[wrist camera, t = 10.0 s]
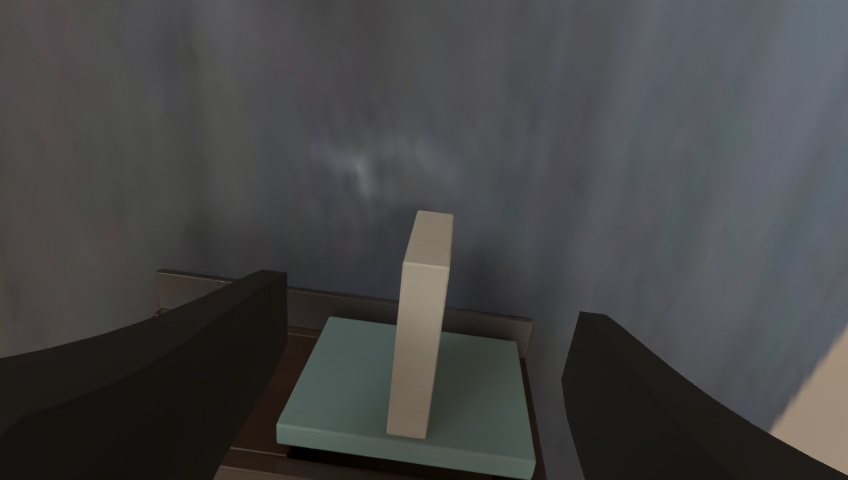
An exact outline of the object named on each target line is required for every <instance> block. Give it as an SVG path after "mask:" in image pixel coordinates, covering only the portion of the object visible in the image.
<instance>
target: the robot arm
mask: <svg viewBox="0 0 848 480" xmlns="http://www.w3.org/2000/svg"><path fill="white" fill-rule="evenodd" d="M287 343H288V307H287V273H285V272H278V271H270V270H260V271H257V272H255V273H252V274H250V275H248V276H245V277H243V278H241V279H239V280H237V281H235V282H232V283H230V284H228V285H226V286H224V287H222V288H220V289H218V290H215V291H213V292H211V293H209V294H207V295H205V296H202V297H200V298H198V299H196V300H193V301H191V302H189V303H186V304H184V305H182V306H179V307H177V308H174V309H172V310H170V311H167V312H165V313H162V314H160V315H158V316H155V317H152V318H150V319H147V320H144V321H141V322H139V323H136V324H133V325H130V326H127V327H124V328H121V329H118V330H114V331H111V332H108V333H105V334H102V335H98V336H94V337H91V338H87V339H83V340H79V341H75V342H71V343H67V344H64V345H60V346H56V347H52V348H48V349H44V350H39V351H34V352H30V353H25V354H20V355H15V356H10V357H5V358H0V480H213V479H214V477H215V475H216V473H217V471H218V469H219V467H220V465H221V463H222V462H223V460H224V458H225V456H226V454H227V452H228V451H229V449H230V447H231V446H232V444H233V443H234V441H235V439H236V438H237V436H238V434H239V433H240V431H241V429H242V428H243V426H244V424H245V423H246V421H247V419H248V418H249V416H250V415H251V413H252V411H253V410H254V408H255V406H256V405H257V403H258V401H259V400H260V398H261V396H262V395H263V393H264V391H265V390H266V388H267V386H268V385H269V383H270V381H271V379H272V378H273V376H274V374H275V371H276V369H277V367H278V365H279V362H280V360H281V358H282V355H283V353H284V350H285V348H286V345H287ZM562 387H563V395H564V402H565V408H566V415H567V419H568V423H569V427H570V430H571V434H572V437H573V440H574V444H575V447H576V451H577V454H578V458H579V461H580V464H581V468H582V471H583V475H584V478H585V480H848V475H846V474H844V473H842V472H840V471H837V470H836V469H834V468H831V467H830V466H828V465H826V464H824V463H822V462H820V461H818V460H816V459H814V458H812V457H810V456H808V455H806V454H805V453H803V452H801V451H799V450H797V449H796V448H794V447H792V446H790V445H788V444H786V443H785V442H783V441H781V440H779V439H777V438H776V437H774V436H772V435H770V434H769V433H767V432H765V431H764V430H762V429H760V428H758V427H757V426H755V425H753V424H752V423H750V422H749V421H747V420H746V419H744V418H742V417H741V416H739V415H738V414H736V413H735V412H733V411H731V410H730V409H728V408H727V407H725V406H724V405H722V404H721V403H719V402H718V401H716V400H715V399H713V398H712V397H710V396H709V395H708V394H706V393H705V392H703V391H702V390H701V389H699V388H698V387H697V386H695V385H694V384H693V383H691V382H690V381H688V380H687V379H686V378H684V377H683V376H682V375H680V374H679V373H678V372H677V371H675V370H674V369H673V368H671V367H670V366H669V365H668V364H666V363H665V362H664V361H663V360H661V359H660V358H659V357H658V356H657V355H655V354H654V353H653V352H652V351H650V350H649V349H648V348H647V347H646V346H644V345H643V344H642V343H641V342H640V341H638V340H637V339H636V338H635V337H634V336H632V335H631V334H630V333H629V332H628V331H626V330H625V329H624V328H623V327H621V326H620V325H619V324H618V323H616V322H615V321H614V320H612V319H611V318H610V317H608V316H607V315H604V314H596V313H589V312H581V311H580V313H579V317H578V320H577V324H576V328H575V331H574V335H573V339H572V343H571V346H570V350H569V354H568V357H567V361H566V365H565V368H564V372H563V376H562Z"/></svg>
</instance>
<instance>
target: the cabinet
mask: <svg viewBox="0 0 848 480" xmlns="http://www.w3.org/2000/svg"><path fill="white" fill-rule="evenodd" d="M156 279H157V286H158V294H159V301H160V308H161V309H160V310H158V311H157V312H156V313H155V314H154V316H152V317H155V316H158V315H160V314H162V313H165V312H167V311H170V310H172V309H174V308H177V307H179V306H182V305H184V304H186V303H189V302H191V301H193V300H196V299H198V298H200V297H202V296H205V295H207V294H209V293H211V292H213V291H215V290H218V289H220V288H222V287H224V286H226V285H228V284H230V283H232V282H235V281H237V280H236V279H228V278H221V277H214V276H206V275H199V274H191V273H184V272H176V271H169V270H162V269H159V270H158V271H156ZM287 307H288V343H287V345H286V348H285V350H284V353H283V355H282V358H281V360H280V362H279V365H278V367H277V369H276V371H275V374H274V376H273V378H272V379H271V381H270V383H269V385H268V386H267V388H266V390H265V391H264V393H263V395H262V396H261V398H260V400H259V401H258V403H257V405H256V406H255V408H254V410H253V411H252V413H251V415H250V416H249V418H248V419H247V421H246V423H245V424H244V426H243V428H242V429H241V431H240V433H239V434H238V436H237V438H236V439H235V441H234V443H233V444H232V446H231V447H230V449H229V451H228V452H227V454H226V456H225V458H224V460H223V462H222V463H221V465H220V467H219V469H218V471H217V473H216V475H215V477H214V479H213V480H525V479H518V478H511V477H504V476H497V475H490V474H484V473H477V472H470V471H463V470H456V469H449V468H442V467H436V466H429V465H422V464H415V463H408V462H401V461H395V460H388V459H381V458H374V457H367V456H360V455H354V454H347V453H340V452H333V451H326V450H319V449H313V448H306V447H299V446H292V445H285V444H279V443H277V426H276V425H277V423H278V421H279V418H280V416H281V414H282V412H283V410H284V408H285V406H286V404H287V402H288V400H289V398H290V396H291V394H292V392H293V390H294V388H295V386H296V384H297V382H298V380H299V378H300V376H301V374H302V372H303V370H304V368H305V366H306V364H307V362H308V360H309V358H310V356H311V353H312V351H313V349H314V347H315V345H316V343H317V341H318V339H319V337H320V335H321V333H322V331H323V329H324V327H325V325H326V323H327V321H328V319H329V317H338V318H346V319H353V320H360V321H368V322H375V323H382V324H390V325H397V318H398V308H399V301H392V300H384V299H377V298H369V297H362V296H355V295H347V294H340V293H332V292H325V291H317V290H310V289H303V288H295V287H288V286H287ZM152 317H151V318H152ZM532 327H533V320H532V319H525V318H518V317H511V316H503V315H496V314H488V313H481V312H473V311H466V310H459V309H451V308H444V315H443V322H442V329H441V332H448V333H456V334H463V335H470V336H478V337H485V338H492V339H500V340H507V341H514V342H516V343H517V349H518V355H519V361H520V367H521V373H522V380H523V386H524V392H525V398H526V404H527V410H528V416H529V422H530V428H531V435H532V441H533V447H534V453H535V459H536V464H535V468H534V472H533V475H532V478H531V480H547V478H546V472H545V467H544V461H543V456H542V450H541V445H540V439H539V434H538V428H537V423H536V417H535V412H534V406H533V401H532V395H531V390H530V384H529V379H528V373H527V368H526V362H525V357H526V353H527V348H528V344H529V340H530V336H531V331H532Z"/></svg>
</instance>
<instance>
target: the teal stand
mask: <svg viewBox="0 0 848 480" xmlns="http://www.w3.org/2000/svg"><path fill="white" fill-rule="evenodd" d="M453 221H454V216H453V215H452V214H445V213H437V212H429V211H421V210H419V211H418V212H417V215H416V219H415V222H414V226H413V229H412V233H411V236H410V240H409V243H408V247H407V250H406V254H405V257H404V261H403V267H402V277H401V288H400V298H399V308H398V318H397V325H390V324H382V323H375V322H368V321H360V320H353V319H346V318H338V317H329V319H328V321H327V323H326V325H325V327H324V329H323V331H322V333H321V335H320V337H319V339H318V341H317V343H316V345H315V347H314V349H313V351H312V353H311V356H310V358H309V360H308V362H307V364H306V366H305V368H304V370H303V372H302V374H301V376H300V378H299V380H298V382H297V384H296V386H295V388H294V390H293V392H292V394H291V396H290V398H289V400H288V402H287V404H286V406H285V408H284V410H283V412H282V414H281V416H280V418H279V421H278V423H277V425H276V426H277V443H279V444H285V445H292V446H299V447H306V448H313V449H319V450H326V451H333V452H340V453H347V454H354V455H360V456H367V457H374V458H381V459H388V460H395V461H401V462H408V463H415V464H422V465H429V466H436V467H442V468H449V469H456V470H463V471H470V472H477V473H484V474H490V475H497V476H504V477H511V478H518V479H525V480H531V478H532V475H533V472H534V468H535V464H536V459H535V453H534V447H533V441H532V435H531V428H530V422H529V416H528V410H527V404H526V398H525V392H524V386H523V380H522V373H521V367H520V361H519V355H518V349H517V343H516V342H514V341H507V340H500V339H492V338H485V337H478V336H470V335H463V334H456V333H448V332H441V329H442V322H443V315H444V308H445V301H446V294H447V287H448V280H449V273H450V263H451V249H452V235H453Z"/></svg>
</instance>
